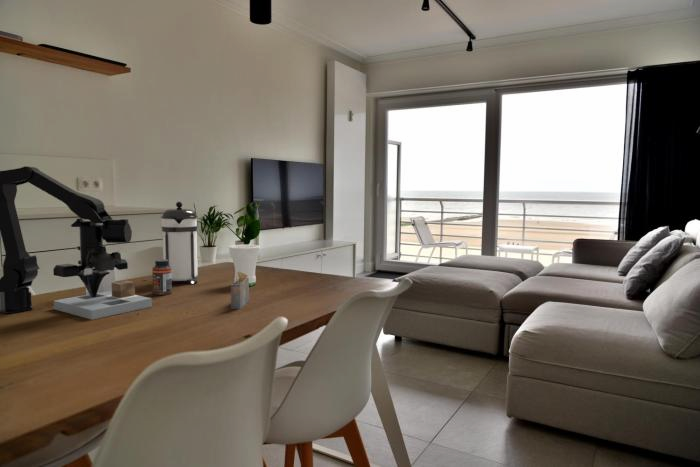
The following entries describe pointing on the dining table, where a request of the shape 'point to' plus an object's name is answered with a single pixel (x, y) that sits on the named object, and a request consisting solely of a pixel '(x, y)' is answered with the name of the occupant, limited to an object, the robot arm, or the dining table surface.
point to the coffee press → (180, 242)
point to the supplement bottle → (162, 278)
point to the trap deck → (101, 305)
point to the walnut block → (123, 289)
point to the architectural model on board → (240, 291)
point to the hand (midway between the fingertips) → (93, 296)
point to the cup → (245, 260)
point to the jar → (106, 282)
